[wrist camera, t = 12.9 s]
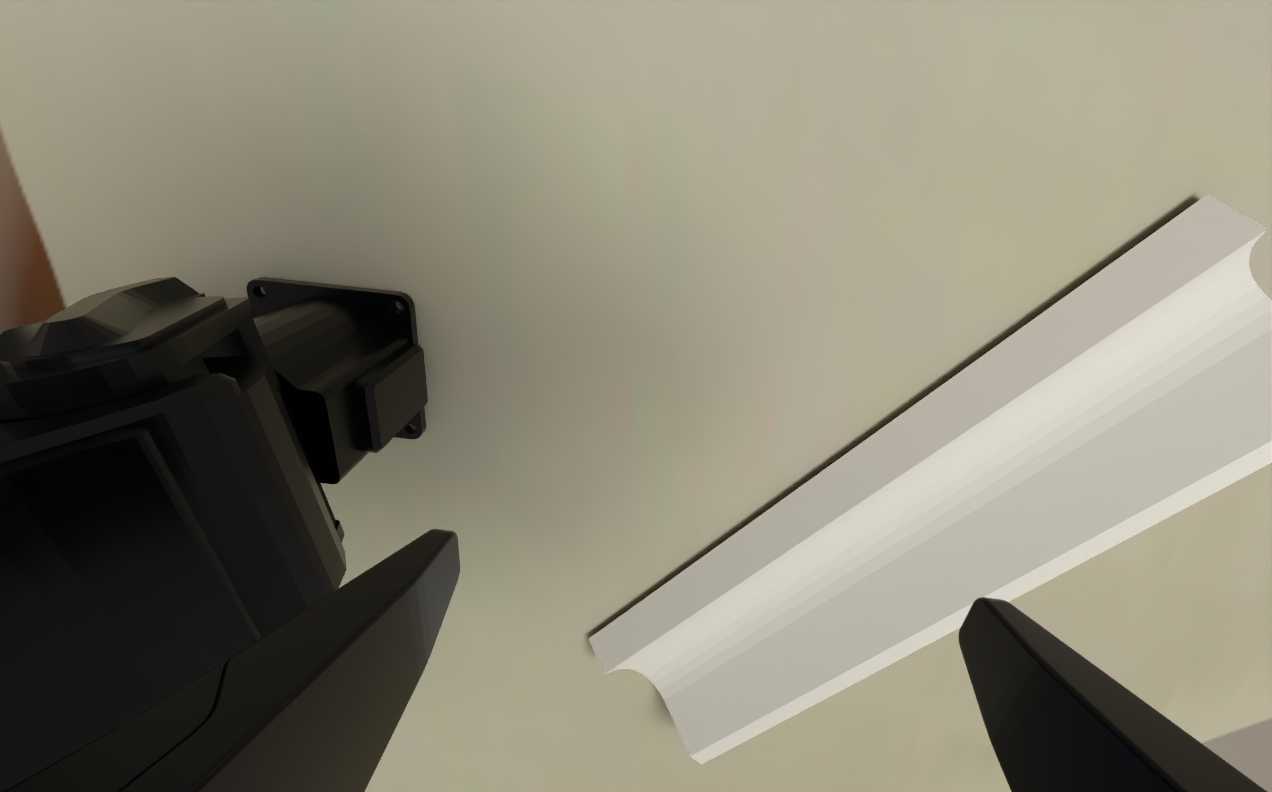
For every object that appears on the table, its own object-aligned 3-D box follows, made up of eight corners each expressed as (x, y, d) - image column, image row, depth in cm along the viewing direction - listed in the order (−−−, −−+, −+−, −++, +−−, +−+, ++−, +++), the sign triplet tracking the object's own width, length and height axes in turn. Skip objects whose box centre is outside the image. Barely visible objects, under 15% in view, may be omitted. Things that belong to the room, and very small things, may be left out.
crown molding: (1181, 195, 18) (1295, 204, 15) (1310, 411, 21) (1428, 458, 18) (592, 626, 29) (583, 687, 26) (736, 727, 32) (744, 793, 29)
